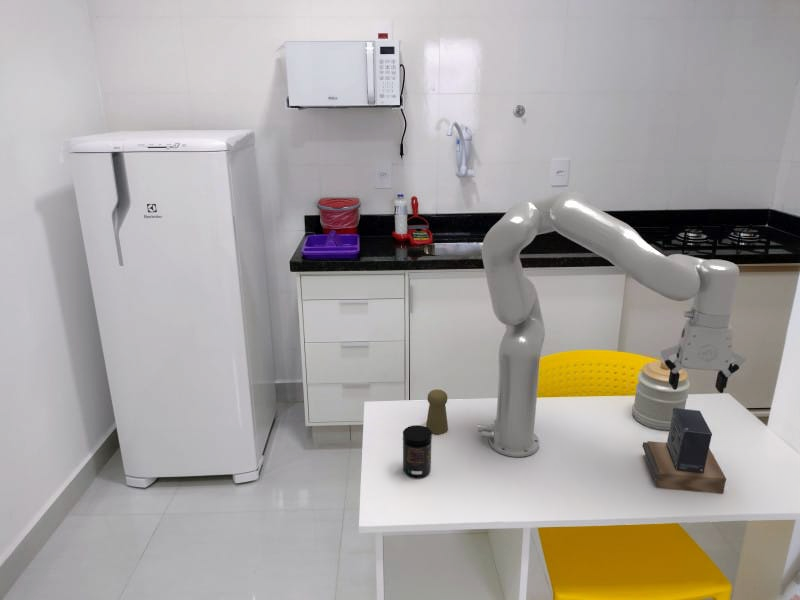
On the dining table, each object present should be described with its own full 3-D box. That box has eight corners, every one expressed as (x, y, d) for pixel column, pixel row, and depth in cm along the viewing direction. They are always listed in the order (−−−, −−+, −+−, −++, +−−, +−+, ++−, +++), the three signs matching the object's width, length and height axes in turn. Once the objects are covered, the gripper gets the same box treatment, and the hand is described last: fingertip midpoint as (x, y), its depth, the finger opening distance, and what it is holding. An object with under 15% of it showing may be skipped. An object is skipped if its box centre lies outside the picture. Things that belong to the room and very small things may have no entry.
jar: (678, 409, 175) (688, 351, 168) (687, 434, 163) (698, 373, 157) (629, 403, 177) (637, 347, 171) (634, 427, 166) (643, 368, 159)
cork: (452, 426, 166) (453, 390, 162) (441, 437, 161) (442, 400, 157) (432, 420, 169) (433, 384, 165) (421, 430, 164) (421, 393, 160)
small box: (706, 474, 140) (714, 433, 136) (675, 471, 141) (682, 431, 137) (693, 447, 150) (701, 409, 146) (665, 444, 151) (671, 406, 147)
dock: (653, 487, 142) (655, 472, 141) (641, 454, 154) (643, 440, 153) (723, 493, 140) (726, 478, 138) (705, 459, 152) (708, 445, 151)
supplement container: (429, 461, 151) (430, 424, 148) (432, 479, 145) (433, 440, 141) (401, 463, 151) (401, 425, 147) (403, 480, 145) (403, 441, 141)
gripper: (671, 321, 131) (659, 393, 137) (759, 327, 129) (743, 399, 135) (663, 308, 138) (651, 377, 144) (746, 313, 136) (731, 383, 142)
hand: (696, 388), depth 139 cm, fingers open, 9 cm apart
